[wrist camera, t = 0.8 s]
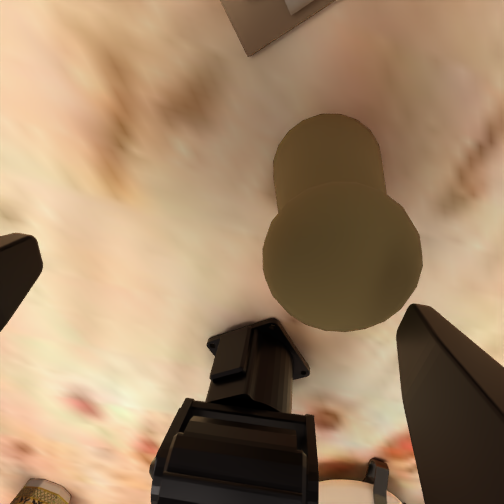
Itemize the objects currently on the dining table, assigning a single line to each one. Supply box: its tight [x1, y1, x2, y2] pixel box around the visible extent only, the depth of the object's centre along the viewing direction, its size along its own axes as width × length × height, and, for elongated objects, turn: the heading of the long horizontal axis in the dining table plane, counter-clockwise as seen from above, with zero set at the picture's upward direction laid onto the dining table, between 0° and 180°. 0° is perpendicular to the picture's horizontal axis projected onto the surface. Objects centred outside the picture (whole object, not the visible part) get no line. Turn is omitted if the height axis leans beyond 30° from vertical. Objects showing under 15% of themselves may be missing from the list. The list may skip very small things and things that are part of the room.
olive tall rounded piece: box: [263, 114, 423, 332], centre depth 15 cm, size 6×6×11 cm
